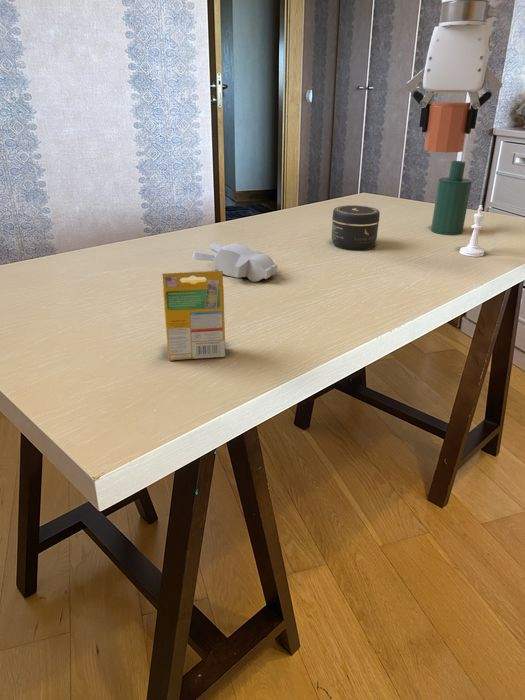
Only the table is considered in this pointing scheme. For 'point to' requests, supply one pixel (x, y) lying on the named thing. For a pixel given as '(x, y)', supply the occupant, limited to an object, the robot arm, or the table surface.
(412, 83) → the robot arm
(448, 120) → the terracotta orange cylinder
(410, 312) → the table surface
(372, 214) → the jar
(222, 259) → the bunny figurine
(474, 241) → the chess piece
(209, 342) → the crayon box
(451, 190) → the bottle
